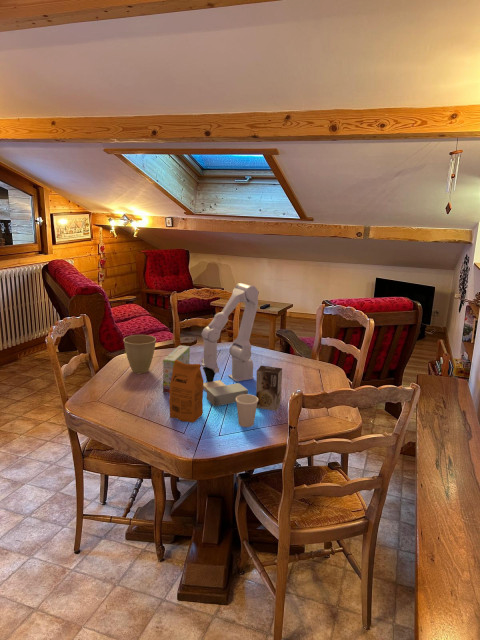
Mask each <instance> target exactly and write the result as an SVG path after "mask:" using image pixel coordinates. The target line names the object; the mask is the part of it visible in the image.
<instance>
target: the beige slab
mask: <svg viewBox="0 0 480 640" xmlns="http://www.w3.org/2000/svg"><path fill="white" fill-rule="evenodd" d="M248 391H249V390H248V388H247V387H245V386H243V385H242V384H241V383H240V382H236V383H232V384H225V386H220V387H214V388H209V389H207V392H206V400H207V401H208V402H209V403H210V404H211V405H213V407H219V406H225V405H229V404H235V403H237V402H236V397H237V396H239V395H243V394H249V393H248Z"/></svg>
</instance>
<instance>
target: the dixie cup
mask: <svg viewBox="0 0 480 640" xmlns="http://www.w3.org/2000/svg"><path fill="white" fill-rule="evenodd" d="M257 402H258V398H257V397H256V395H253V394H249V393H248V394H243V395H239V396H237V397H236V402H235V403H236V409H237V418H238V419H237V422H238V425H239V426H240V427H242V428H251V427H253V426H254V425H255V419H256V415H257V414H256V413H257V409H258V408H257Z"/></svg>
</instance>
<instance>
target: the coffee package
mask: <svg viewBox="0 0 480 640" xmlns="http://www.w3.org/2000/svg"><path fill="white" fill-rule="evenodd" d="M201 367H202V366H201V364H200V363H189V364H184V363H182V362H180V361H178V360H175V362H174V366H173V373H172V378H171V383H170V393H169V399H168V401H169V418H170V419H177V420H178V421H180V422H183V423H192V424H193V423H195V422H196V421H197V420H199V419H200V417H202V416H203V414H204V409H203V407H204V403H203V398H204V389H203V383H204V377H203V374H202V371H201Z"/></svg>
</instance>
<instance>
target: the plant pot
mask: <svg viewBox="0 0 480 640" xmlns="http://www.w3.org/2000/svg"><path fill="white" fill-rule="evenodd" d="M156 343H157V338H156V337H155V336H153V335H149V334H148V335H147V334H131V335H128V336H126V337H124V338H123V345H124V350H125V354H126V358H127V361H128V364H129V366H130V368H131V369H130V370H131V371H132V373H134V374H137V373H142V374H145V373H148V372H149V370H150V368H151V365H152V362H153V357H154V353H155V349H156Z"/></svg>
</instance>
